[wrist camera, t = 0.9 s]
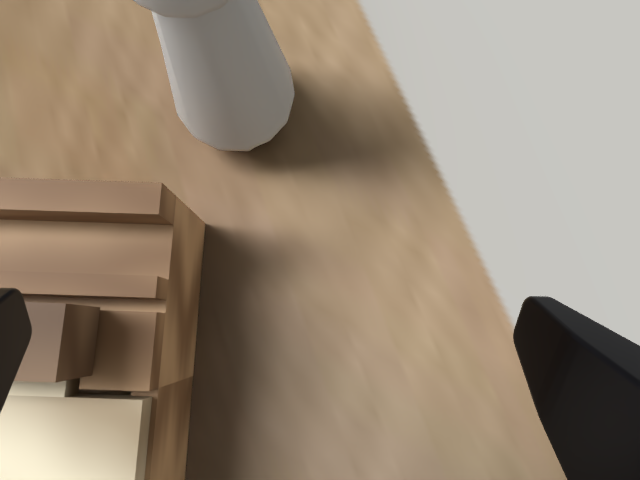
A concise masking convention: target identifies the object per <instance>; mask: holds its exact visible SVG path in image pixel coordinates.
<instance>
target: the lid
mask: <svg viewBox="0 0 640 480" xmlns="http://www.w3.org/2000/svg"><path fill="white" fill-rule="evenodd" d="M79 383H80V378H76V379H71V380H66V381H61V382H56V383H53V382H24V381H14V382H13V384H12V387H11V389H10V391H9V394H8V396H7V399H6V401H5V404H4V406H3V408H2V411H1V413H0V480H144V478H145V468H146V457H147V447H148V436H149V426H150V415H151V405H152V396H132V395H103V394H78V391H79Z"/></svg>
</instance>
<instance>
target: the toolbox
mask: <svg viewBox="0 0 640 480" xmlns="http://www.w3.org/2000/svg"><path fill="white" fill-rule="evenodd" d="M204 235H205V223H204V222H203V221H202V220H201V219H200V218H199V217H198V216H197V215H196V214H195V213H194V212H193V211H192V210H190V209H189V208H188V207H187V206H186V205H185V204H184V203H183V202H182V201H181V200H180V199H179V198H178V197H177V196H175V195H174V194H173V193H172V192H171V191H170V190H169V189H168V188H167V187H166V186H165V185H164V184H163V183H154V182H123V181H91V180H60V179H29V178H0V288H16V289H18V290H19V291H20V292H21V293H22V295H23V298H24V301H25V302H37V303H66V304H75V305H85V306H94V307H100V315H99V323H98V331H97V340H96V348H95V357H94V365H93V374H92V376H87V377H82V378H80V383H79V391H78V394H103V395H132V396H152V405H151V415H150V426H149V436H148V447H147V457H146V468H145V478H144V480H185V471H186V459H187V446H188V434H189V421H190V409H191V397H192V384H193V372H194V359H195V347H196V334H197V322H198V310H199V297H200V285H201V272H202V260H203V248H204Z"/></svg>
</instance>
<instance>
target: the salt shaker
mask: <svg viewBox="0 0 640 480" xmlns="http://www.w3.org/2000/svg"><path fill="white" fill-rule="evenodd" d="M133 1H135V2H136V3H137V4H139V5H140V6H142V7H144V8H146V9H149V10H151V11H152V14H153V18H154V22H155V25H156V29H157V32H158V36H159V39H160V43H161V47H162V52H163V56H164V60H165V64H166V68H167V73H168V77H169V81H170V85H171V90H172V94H173V98H174V102H175V106H176V111H177V115H178V116H179V118H180V119H181V120H182V122H183V123H184V124H185V126H186V127H187V128H188V130H189V131H190V133H191V134H192V135H193V136H194V137H195V138H196V139H198V140H200V141H202V142H204V143H206V144H208V145H210V146H212V147H214V148H216V149H218V150H225V151H248V152H249V151H250V150H251V149H253V148H254V147H257V146H259V145H261V144H264V143H266V142H269V141H270V140H271V139H272V138H273V137H274V136H275V135H276V134H277V133H278V132H279V131H280V129H281V128H282V127H283V126H284V125H285V124H286V123H287V121H288V118H289V114H290V110H291V107H292V103H293V99H294V95H295V92H294V86H293V81H292V75H291V70H290V67H289V65H288V63H287V61H286V59H285V57H284V55H283V53H282V51H281V49H280V46H279V44H278V42H277V40H276V38H275V36H274V34H273V32H272V30H271V28H270V26H269V24H268V22H267V20H266V17H265V15H264V13H263V11H262V9H261V7H260V5H259V3H258V1H257V0H133Z"/></svg>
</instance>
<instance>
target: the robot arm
mask: <svg viewBox="0 0 640 480" xmlns="http://www.w3.org/2000/svg"><path fill="white" fill-rule="evenodd" d="M31 335H32V326H31V322H30V318H29V315H28V312H27V308H26V305H25V301H24V298H23V295H22V293H21V292H20V291H19V290H18V289H16V288H0V413H1V411H2V408H3V406H4V404H5V401H6V399H7V396H8V394H9V391H10V389H11V387H12V384H13V382H14V379H15V377H16V374H17V372H18V369H19V367H20V364H21V362H22V359H23V357H24V354H25V352H26V350H27V347H28V345H29V342H30V339H31ZM513 339H514V344H515V348H516V351H517V354H518V357H519V360H520V363H521V366H522V369H523V372H524V375H525V378H526V381H527V384H528V387H529V390H530V393H531V396H532V399H533V402H534V405H535V407H536V410H537V413H538V415H539V418H540V420H541V422H542V425H543V427H544V429H545V432H546V434H547V436H548V438H549V440H550V443H551V445H552V447H553V449H554V451H555V454H556V456H557V458H558V460H559V462H560V464H561V467H562V469H563V471H564V473H565V475H566V478H567V480H640V346H639V345H637V344H635V343H633V342H631V341H630V340H628V339H626V338H624V337H622V336H620V335H619V334H617V333H615V332H613V331H612V330H609V329H608V328H606V327H604V326H602V325H600V324H599V323H597V322H595V321H593V320H591V319H590V318H588V317H586V316H584V315H582V314H580V313H578V312H577V311H575V310H573V309H571V308H569V307H568V306H566V305H564V304H562V303H560V302H558V301H557V300H555V299H553V298H551V297H539V296H538V297H537V296H530V297H528V298H526V299H525V300H524V302H523V304H522V308H521V310H520V314H519V317H518V320H517V323H516V326H515V329H514V334H513Z"/></svg>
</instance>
